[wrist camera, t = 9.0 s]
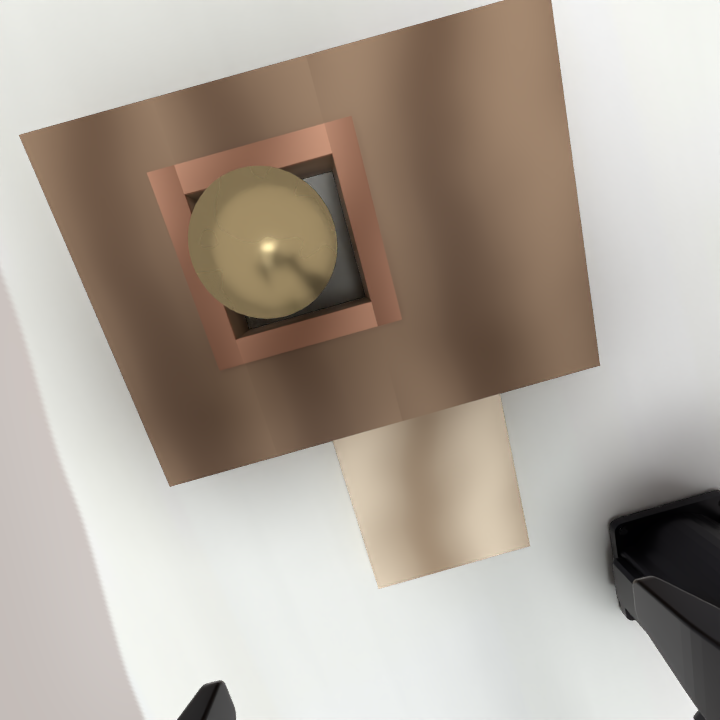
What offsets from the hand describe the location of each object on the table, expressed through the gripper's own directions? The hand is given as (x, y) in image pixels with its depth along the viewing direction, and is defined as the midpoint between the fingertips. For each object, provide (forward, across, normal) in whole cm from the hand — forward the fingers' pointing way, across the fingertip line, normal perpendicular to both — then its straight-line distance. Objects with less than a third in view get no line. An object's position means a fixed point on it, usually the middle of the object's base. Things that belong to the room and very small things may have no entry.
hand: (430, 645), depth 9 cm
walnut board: (+12, 0, -4) cm, 12 cm away
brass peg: (+12, +2, -9) cm, 15 cm away
